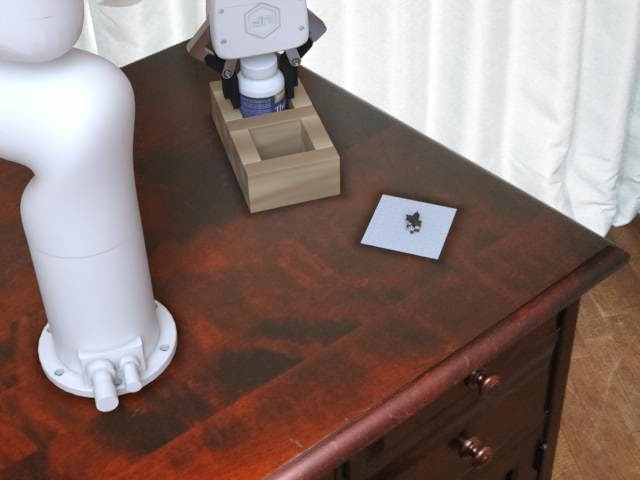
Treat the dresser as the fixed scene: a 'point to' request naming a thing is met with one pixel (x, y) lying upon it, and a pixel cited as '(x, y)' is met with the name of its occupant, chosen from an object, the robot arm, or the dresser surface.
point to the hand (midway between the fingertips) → (260, 95)
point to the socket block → (278, 151)
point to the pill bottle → (261, 85)
